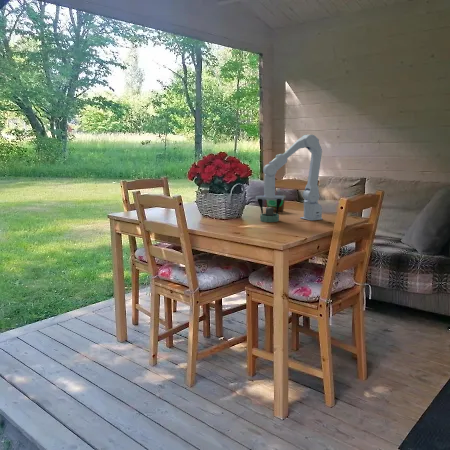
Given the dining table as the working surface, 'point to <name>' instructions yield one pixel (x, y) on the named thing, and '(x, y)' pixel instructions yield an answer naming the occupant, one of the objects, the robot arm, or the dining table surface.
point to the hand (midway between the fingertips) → (269, 213)
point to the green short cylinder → (269, 218)
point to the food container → (274, 204)
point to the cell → (269, 211)
